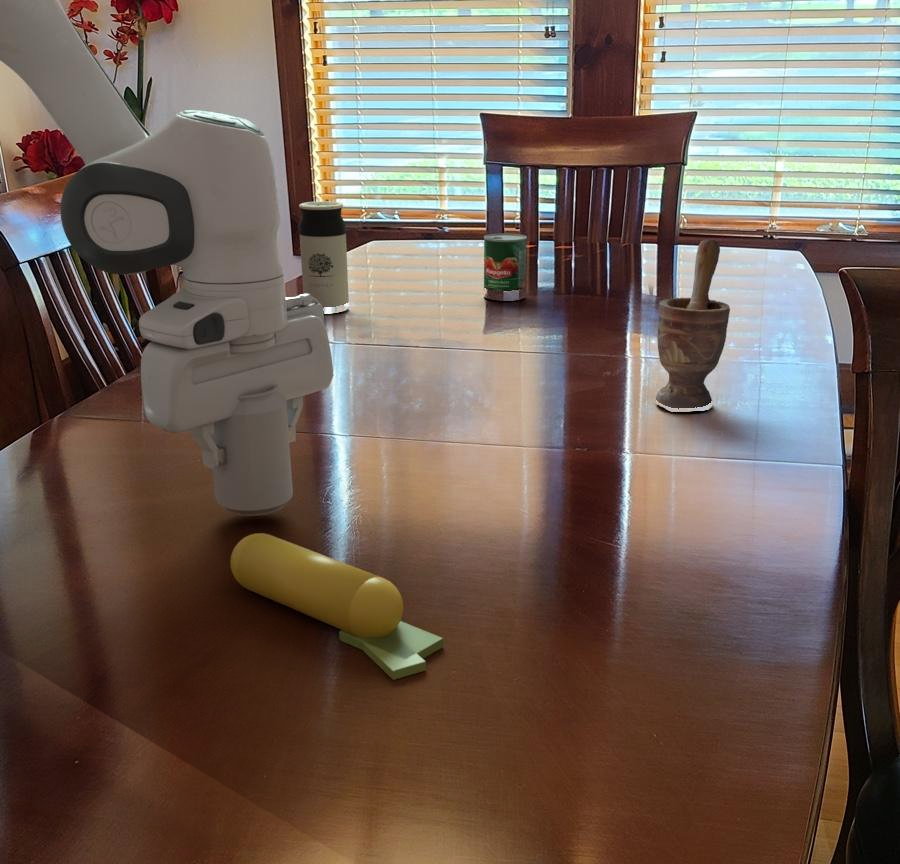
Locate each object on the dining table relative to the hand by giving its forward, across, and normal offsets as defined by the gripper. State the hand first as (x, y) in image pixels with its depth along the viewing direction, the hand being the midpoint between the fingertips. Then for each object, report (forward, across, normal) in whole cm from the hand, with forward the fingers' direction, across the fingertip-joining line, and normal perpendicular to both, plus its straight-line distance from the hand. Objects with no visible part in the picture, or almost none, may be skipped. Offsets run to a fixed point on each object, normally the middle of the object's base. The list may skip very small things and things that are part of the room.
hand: (250, 454), depth 103 cm
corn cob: (+7, +11, +21) cm, 25 cm away
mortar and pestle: (+7, -62, +13) cm, 64 cm away
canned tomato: (+7, -101, -46) cm, 111 cm away
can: (+6, 0, 0) cm, 6 cm away
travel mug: (+7, -72, -64) cm, 97 cm away
